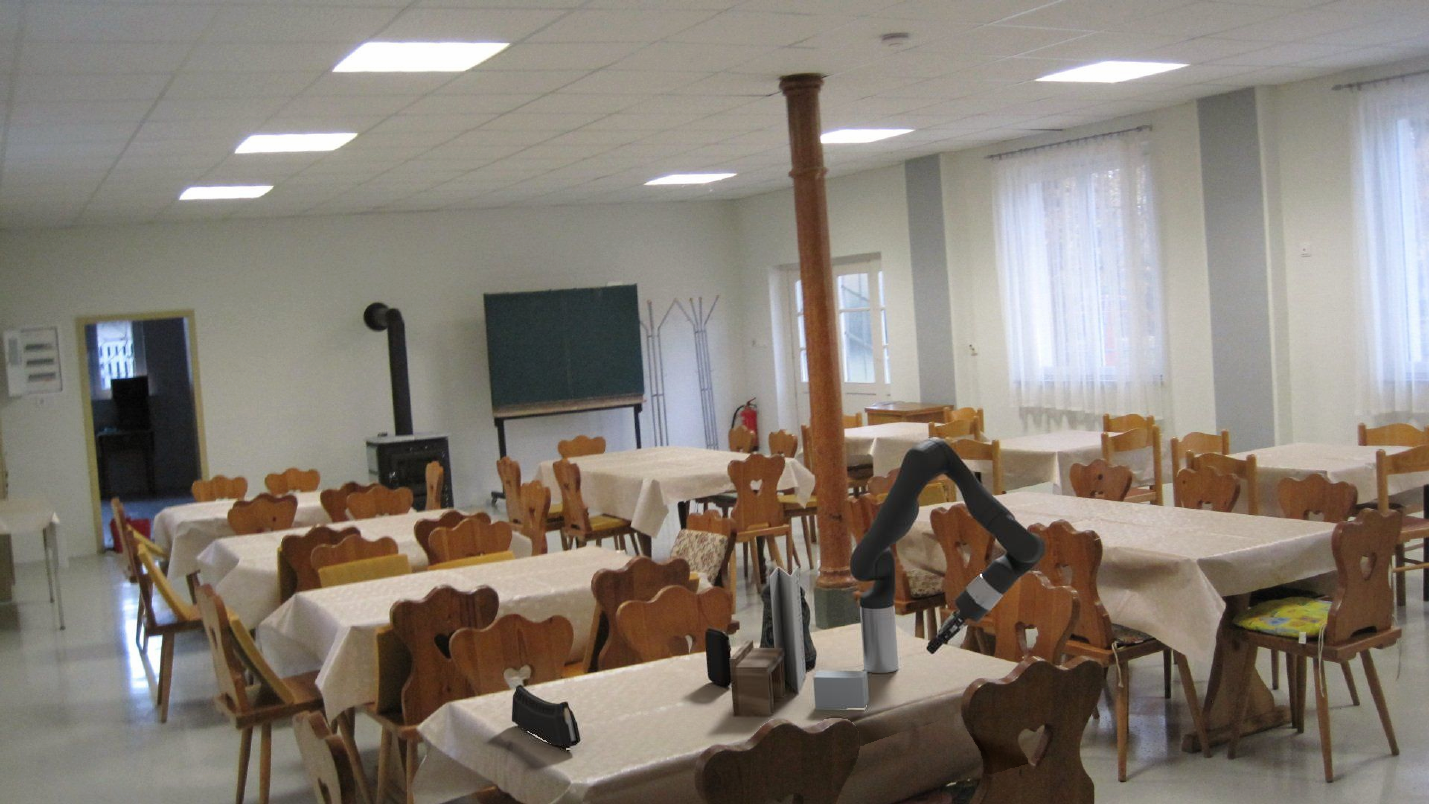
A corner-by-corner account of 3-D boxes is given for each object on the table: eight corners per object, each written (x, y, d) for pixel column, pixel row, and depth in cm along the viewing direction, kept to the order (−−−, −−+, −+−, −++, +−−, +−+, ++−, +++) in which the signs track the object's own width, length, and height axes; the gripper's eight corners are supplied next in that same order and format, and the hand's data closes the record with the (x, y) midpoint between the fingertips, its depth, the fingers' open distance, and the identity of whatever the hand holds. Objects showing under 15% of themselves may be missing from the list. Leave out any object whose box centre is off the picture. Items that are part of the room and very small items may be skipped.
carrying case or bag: (737, 688, 320) (733, 632, 319) (727, 690, 318) (723, 634, 317) (715, 680, 329) (711, 625, 328) (705, 682, 327) (702, 628, 326)
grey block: (820, 702, 302) (818, 670, 302) (869, 703, 299) (866, 671, 298) (815, 709, 297) (813, 677, 296) (864, 710, 293) (862, 677, 293)
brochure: (799, 693, 311) (791, 576, 309) (777, 693, 312) (769, 577, 311) (806, 677, 325) (798, 565, 323) (785, 678, 326) (777, 566, 324)
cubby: (751, 694, 313) (747, 640, 312) (787, 694, 310) (783, 640, 310) (733, 716, 296) (729, 658, 295) (771, 716, 293) (767, 658, 293)
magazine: (504, 688, 302) (554, 674, 278) (517, 685, 304) (567, 671, 279) (518, 758, 299) (570, 751, 274) (530, 755, 300) (583, 747, 276)
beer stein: (778, 655, 350) (772, 568, 349) (837, 661, 339) (831, 572, 338) (746, 670, 337) (739, 580, 336) (806, 677, 325) (800, 584, 324)
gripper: (968, 580, 295) (920, 631, 299) (964, 593, 281) (914, 645, 285) (992, 602, 293) (944, 652, 297) (989, 615, 280) (939, 668, 284)
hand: (930, 649), depth 291 cm, fingers open, 3 cm apart
